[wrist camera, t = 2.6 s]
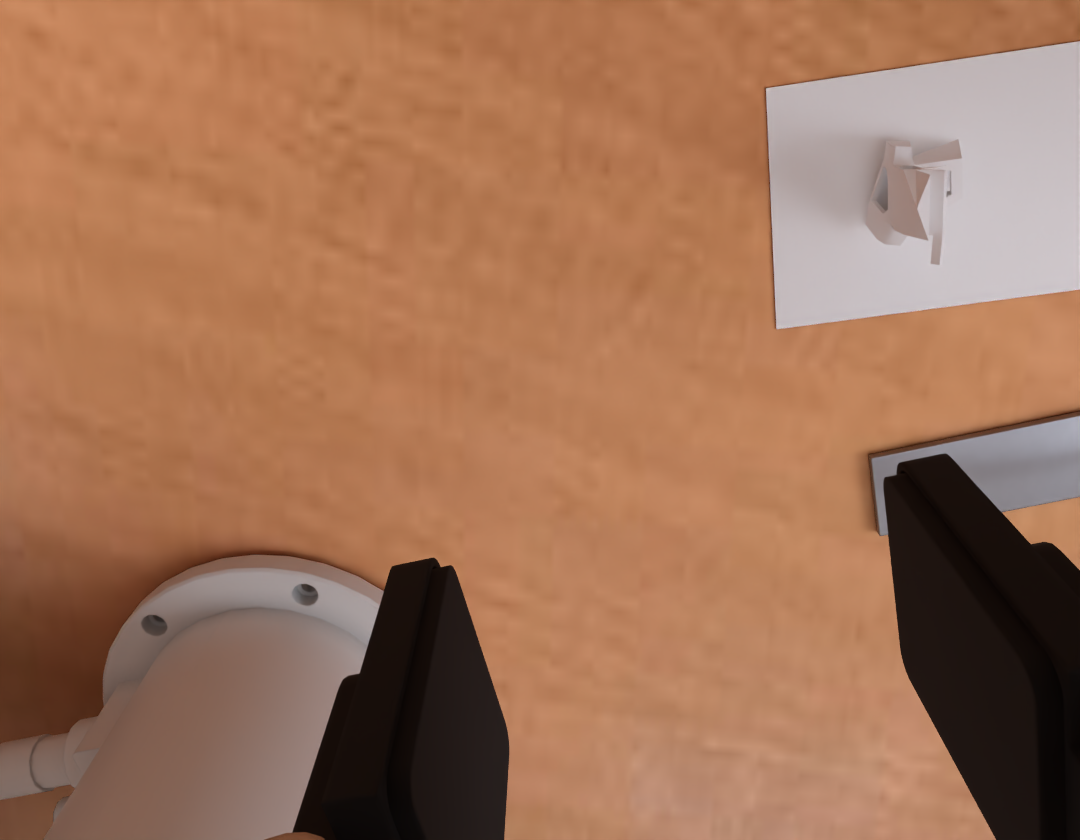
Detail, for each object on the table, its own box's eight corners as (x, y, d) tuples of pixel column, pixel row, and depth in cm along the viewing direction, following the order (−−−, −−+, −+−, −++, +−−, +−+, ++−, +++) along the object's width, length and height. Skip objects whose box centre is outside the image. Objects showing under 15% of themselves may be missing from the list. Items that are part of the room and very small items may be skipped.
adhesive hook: (861, 142, 26) (899, 157, 23) (954, 129, 26) (1005, 142, 23) (861, 247, 27) (898, 274, 24) (951, 235, 27) (998, 261, 24)
